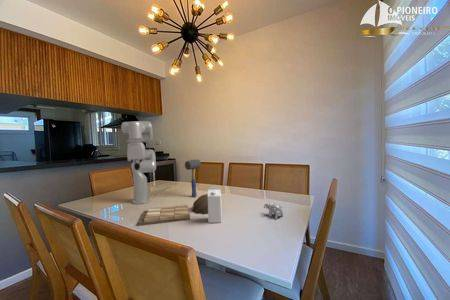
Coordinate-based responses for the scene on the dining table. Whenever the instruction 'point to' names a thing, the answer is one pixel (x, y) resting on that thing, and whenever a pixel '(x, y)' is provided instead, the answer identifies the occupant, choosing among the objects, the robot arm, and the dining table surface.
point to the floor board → (166, 215)
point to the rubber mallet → (193, 173)
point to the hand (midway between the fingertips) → (137, 169)
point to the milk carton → (214, 205)
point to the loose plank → (154, 211)
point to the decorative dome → (201, 205)
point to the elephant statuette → (274, 209)
